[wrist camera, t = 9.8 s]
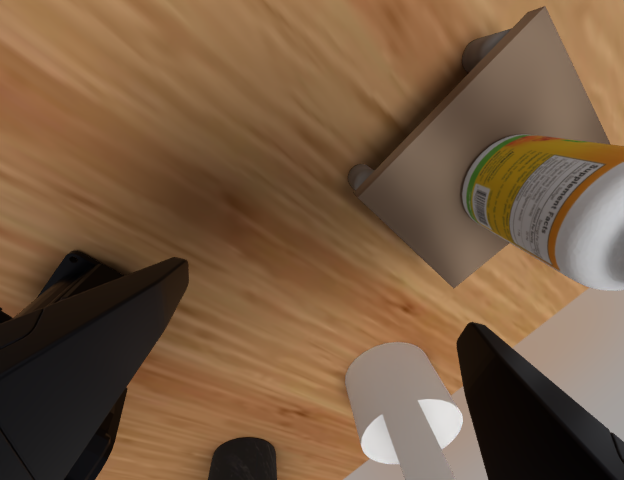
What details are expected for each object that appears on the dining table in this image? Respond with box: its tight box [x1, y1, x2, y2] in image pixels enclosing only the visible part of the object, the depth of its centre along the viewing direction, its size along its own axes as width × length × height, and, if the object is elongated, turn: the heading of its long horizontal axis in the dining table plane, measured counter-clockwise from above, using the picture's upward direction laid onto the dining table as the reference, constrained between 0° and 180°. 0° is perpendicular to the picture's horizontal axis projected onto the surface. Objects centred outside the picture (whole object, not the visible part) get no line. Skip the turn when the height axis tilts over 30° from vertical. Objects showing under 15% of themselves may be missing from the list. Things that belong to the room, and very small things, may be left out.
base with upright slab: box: [345, 342, 463, 480], centre depth 24 cm, size 9×9×12 cm
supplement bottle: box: [462, 134, 624, 291], centre depth 12 cm, size 5×5×10 cm
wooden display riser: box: [348, 6, 611, 288], centre depth 18 cm, size 12×10×4 cm
